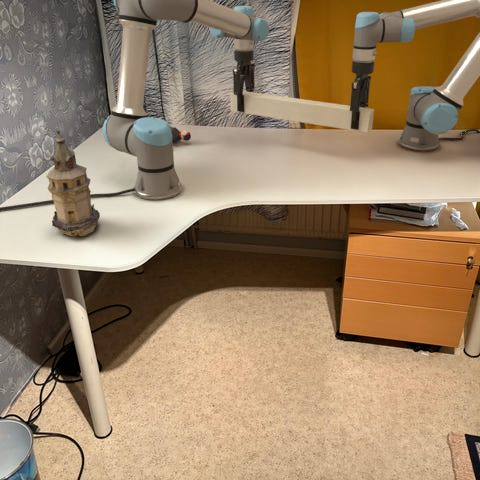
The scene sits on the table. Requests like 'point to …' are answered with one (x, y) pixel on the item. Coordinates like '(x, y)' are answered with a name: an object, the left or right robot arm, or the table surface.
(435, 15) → the right robot arm
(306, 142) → the table surface
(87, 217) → the miniature building
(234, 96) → the bar
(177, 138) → the toy
